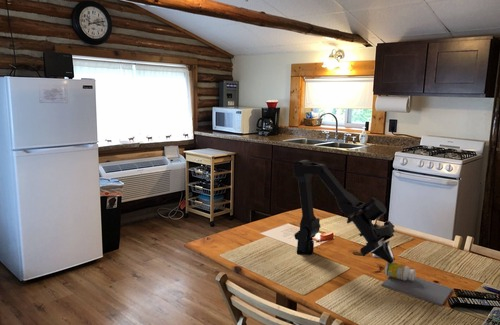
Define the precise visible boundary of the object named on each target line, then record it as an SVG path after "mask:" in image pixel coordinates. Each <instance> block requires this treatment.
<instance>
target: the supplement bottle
mask: <svg viewBox="0 0 500 325" xmlns="http://www.w3.org/2000/svg"><path fill="white" fill-rule="evenodd" d="M384 274H385V276H386V277H393V278H397V279H400V280H404V281H406V280H407V279H409V280H411V281H413V280H414V278H415V277H416V270H415V269H414V268H413V269H412V268H411V269H410V267H409V266H408V265H405V264H401V263H396V262H394V261H393V263H389V262H387V261H386V265H385V269H384Z"/></svg>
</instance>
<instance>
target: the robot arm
mask: <svg viewBox="0 0 500 325" xmlns="http://www.w3.org/2000/svg"><path fill="white" fill-rule="evenodd" d="M292 171H293V175H294V177H295V180H296V181H297V182H298V190H299V198H300V205H301V206H300V207H301V219H300V223H299V230H298V231H297V232H296V233H294V234H293V236H294V239H295V240H296V241H297V246H296V254H297V255H309V256H312V255H313V252H314V249H315V248H314V246H315V245H314V244H315V242H314V239H313V238H315V237H316V235H317V234H318V233H319V232H320V229H321V224H320V218H318V217H316V215H315V213H314V211H315V210H314V204H313V196H312V195H313V194H312V193H313V192H312V187H311V186H312V185H311V181H312V176H313V175H316V176H317V177H318V178H319V179H320V180H321V181H322V182H323V183H324V185H325V186H326V188H327V189H328V190H329V191H330V193H332V195H333V196H334V198H335V199H336V200H335V201H336V203H337V207H339V209H340V211H341V213H343V214H344V215H348V216H347V220H346V224H350V223H353V224H354V226H355V228H356V229H357V230H358V231H359V234H358V235H359V236H360V237H363V238H364V239H365V241H366V243H365V245H364V246H362V247H361V248H360V249H359V251H360V254H361V256H362V257H365V256H367V255H368V254H372V253H373V254H375V255H377V256H378V257H380V258H379V259H382V260H383V261H386V263H387V262H389V263H393V262H394V259H392V256H391V254H390V251H389V248H388V246H390V245H389V244H390V239H391V238H392V237H394V236H395V234H394V233H395V229H394V228H395V225H394V224H393V223H392V222H391V221H390V220H387V221H385V222H383V225H380V226H379V225H378V224H377V223H373V222H372V221H376V220H378V218H380V217H382V216H383V215H384V214H386V213H387V207H386V206H385V204H384V203H383V202H382V201H381V200H378V199H377V198H376V197H372V198H370V200H369V201H368V202H367V203H366V202H363V201H360V200H359V199H358V198H357V197H356V196H354V194H352V193H351V192H349V191H347V190H346V189H345V188H344V187H343V185H342V184H341V183H340V182H339V181H338V179H337V178H336V177H335V176H334V174H333V173H332V172H331V171H330V170H329V168H328V166H327V165H326V164H325V163H318V162H312V161H310V160H309V159H303V160H300V161H299V160H298V161H295V162H294V164H293V165H292ZM373 254H372V255H373Z"/></svg>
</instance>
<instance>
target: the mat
mask: <svg viewBox="0 0 500 325" xmlns="http://www.w3.org/2000/svg"><path fill="white" fill-rule="evenodd" d="M380 284H381V287H385V288H386V289H390V290H394V291H396V292H399V293H402V294H405V295H408V296H411V297H414V298H417V299H419V300H423V301H426V302H429V303H431V304H435V305H438V306H440V307H442V306H443V305H444V303H445V302H446V300H448V297H450V295H451V294H452V292H453V288H452V287H449V286H446V285H443V284H440V283H436V282H433V281H430V280H426V279H423V278H420V277H416V276H415V278H414V280H413V281H411V280H409V279H407V280H406V281H404V280H400V279H397V278H393V277H390V276H388V277H387V279H385V280H384V281H383V282H382V283H380Z"/></svg>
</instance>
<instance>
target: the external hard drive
mask: <svg viewBox="0 0 500 325" xmlns="http://www.w3.org/2000/svg"><path fill="white" fill-rule="evenodd" d="M388 248H389V251H390V254H391V256H392V259H393V260H394V259H395V258H394V255H393V251H392V249H391V246H390V245H388ZM372 258H379V259H381V258H380V257H378V256H377V255H375V254H373V253H372Z"/></svg>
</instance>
